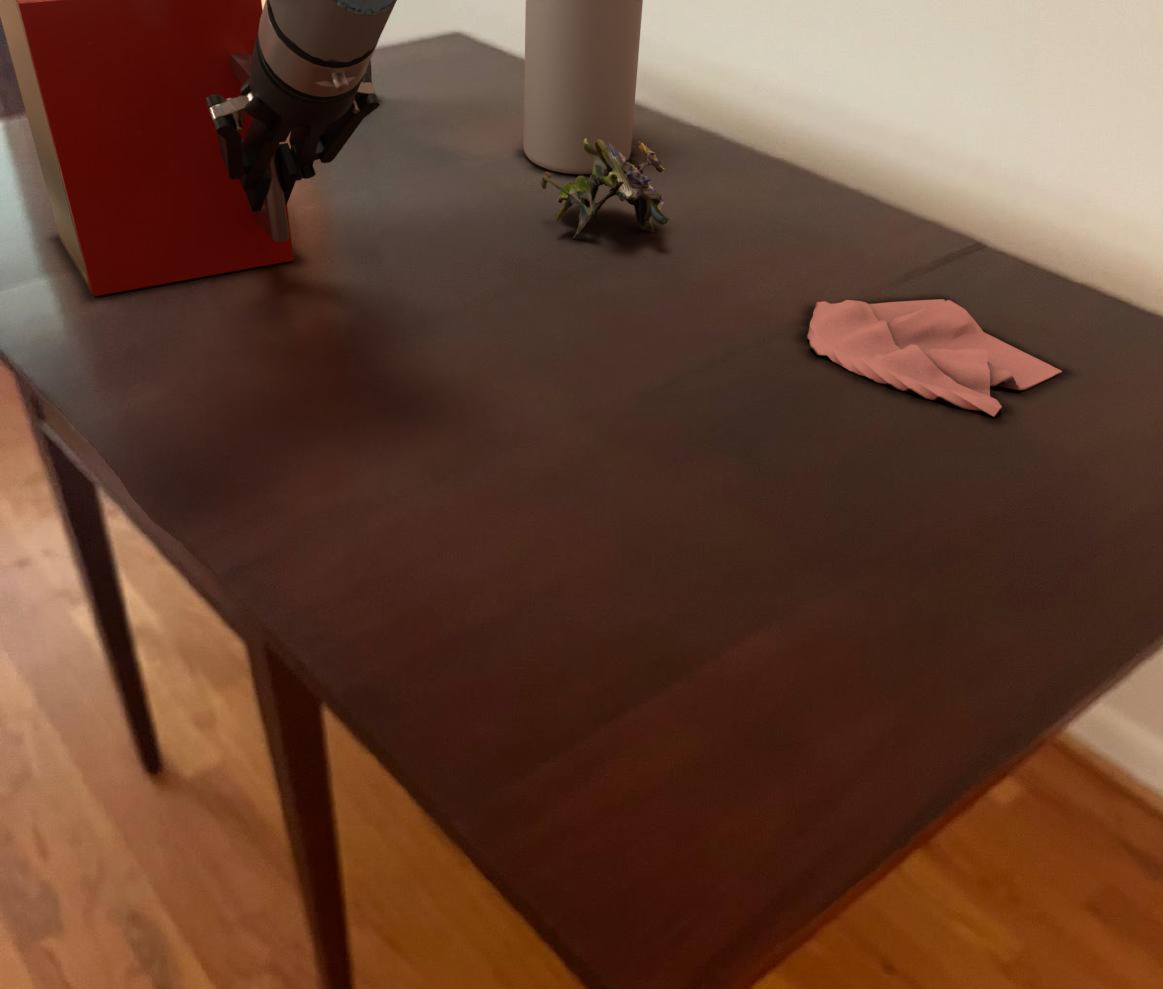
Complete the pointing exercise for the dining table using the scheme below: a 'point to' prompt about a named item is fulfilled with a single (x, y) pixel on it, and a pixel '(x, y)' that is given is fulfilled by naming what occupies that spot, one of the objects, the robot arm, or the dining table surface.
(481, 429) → the dining table surface
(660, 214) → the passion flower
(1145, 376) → the dining table surface
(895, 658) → the dining table surface
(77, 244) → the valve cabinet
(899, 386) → the cloth
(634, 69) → the cylinder vase
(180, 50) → the valve door
